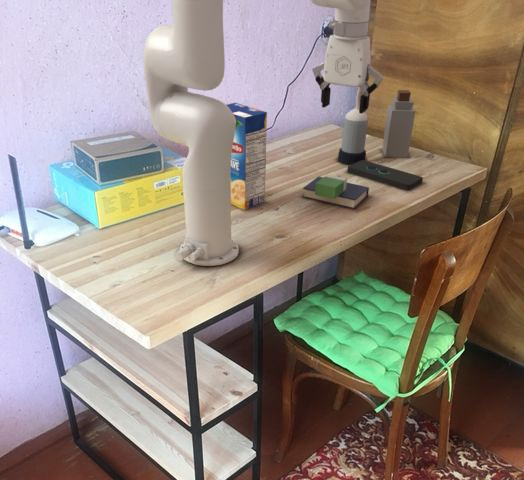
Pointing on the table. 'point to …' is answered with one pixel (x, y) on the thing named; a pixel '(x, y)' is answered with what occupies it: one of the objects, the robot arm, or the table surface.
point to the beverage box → (248, 156)
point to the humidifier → (354, 136)
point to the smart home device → (385, 174)
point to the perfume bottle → (399, 125)
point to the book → (346, 199)
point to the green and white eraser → (330, 186)
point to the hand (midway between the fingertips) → (343, 109)
